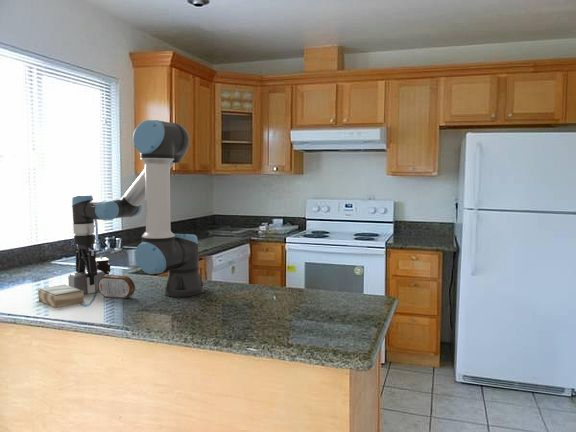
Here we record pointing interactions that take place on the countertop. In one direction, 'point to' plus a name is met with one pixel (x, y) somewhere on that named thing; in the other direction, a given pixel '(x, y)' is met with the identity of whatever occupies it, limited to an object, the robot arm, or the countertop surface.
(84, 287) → the housing
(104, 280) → the tin
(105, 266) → the pneumatic valve
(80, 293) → the stand
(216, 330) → the countertop surface
